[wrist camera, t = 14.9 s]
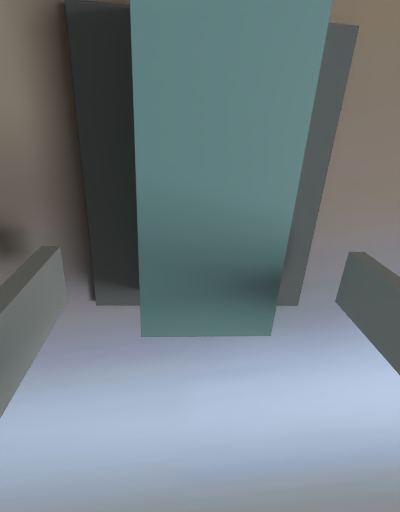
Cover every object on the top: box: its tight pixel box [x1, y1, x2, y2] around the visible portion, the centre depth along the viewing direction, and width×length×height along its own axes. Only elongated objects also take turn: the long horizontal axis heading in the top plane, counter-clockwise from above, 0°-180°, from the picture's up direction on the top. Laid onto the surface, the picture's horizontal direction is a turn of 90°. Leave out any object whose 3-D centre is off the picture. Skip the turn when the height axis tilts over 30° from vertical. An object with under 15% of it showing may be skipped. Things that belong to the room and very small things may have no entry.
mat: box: [65, 0, 359, 306], centre depth 15 cm, size 14×12×1 cm
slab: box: [130, 0, 333, 337], centre depth 13 cm, size 13×6×4 cm, turn 177°
